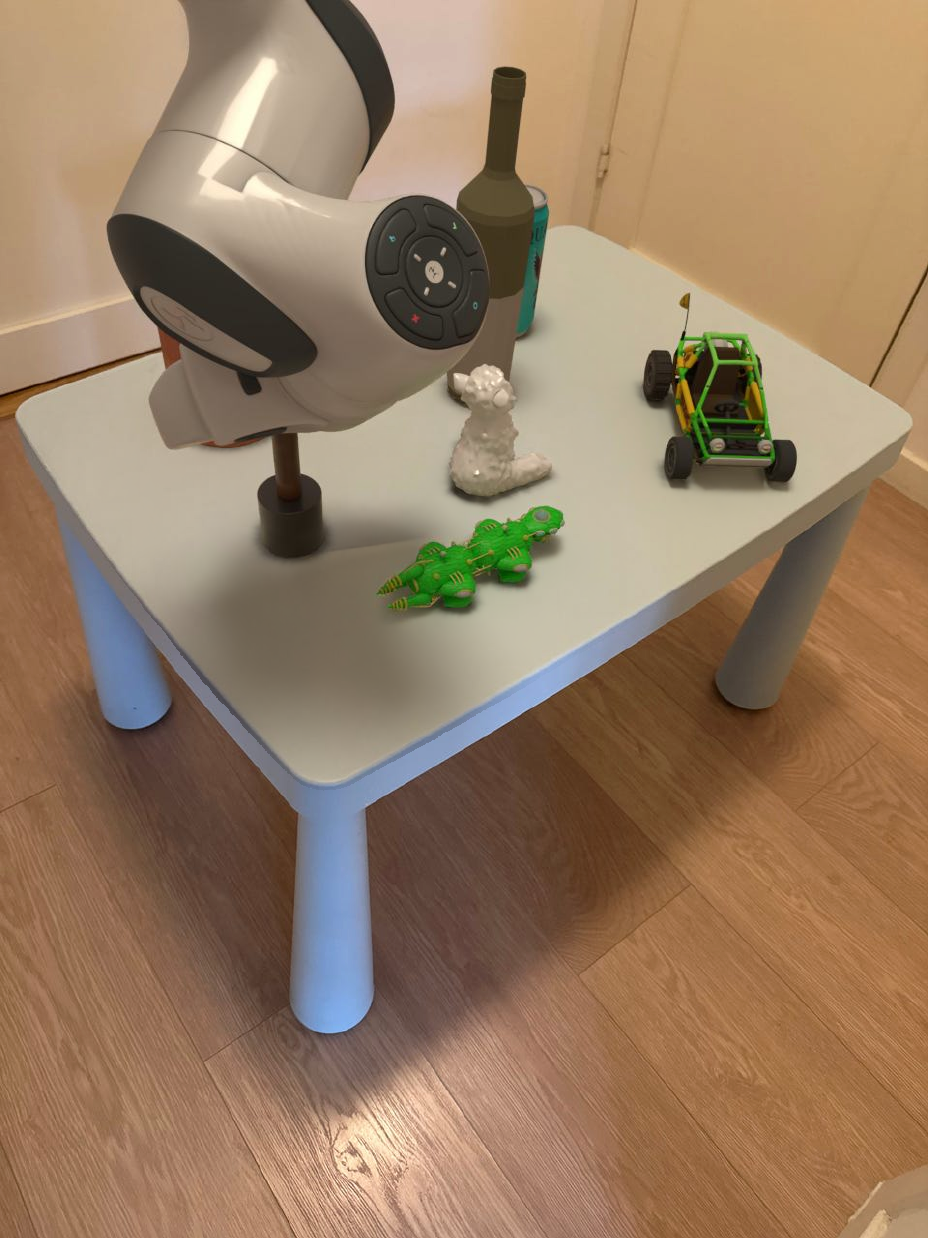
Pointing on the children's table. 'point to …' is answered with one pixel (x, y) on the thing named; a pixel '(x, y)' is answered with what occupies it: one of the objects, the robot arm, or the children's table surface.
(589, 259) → the children's table surface
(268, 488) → the rod on round base
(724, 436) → the motor vehicle
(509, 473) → the sitting furry creature
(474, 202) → the bottle
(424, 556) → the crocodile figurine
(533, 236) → the beverage can
